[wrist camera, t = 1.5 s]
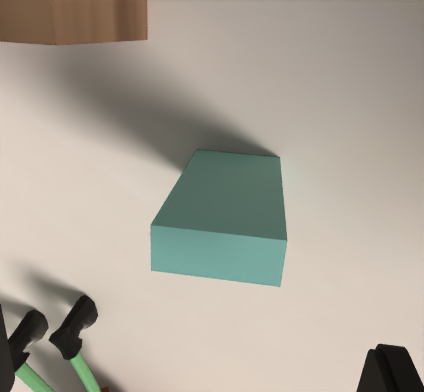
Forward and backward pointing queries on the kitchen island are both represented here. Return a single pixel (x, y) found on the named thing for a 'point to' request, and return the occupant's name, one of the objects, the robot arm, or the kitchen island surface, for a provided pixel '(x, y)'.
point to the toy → (62, 338)
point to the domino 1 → (72, 21)
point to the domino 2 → (223, 220)
